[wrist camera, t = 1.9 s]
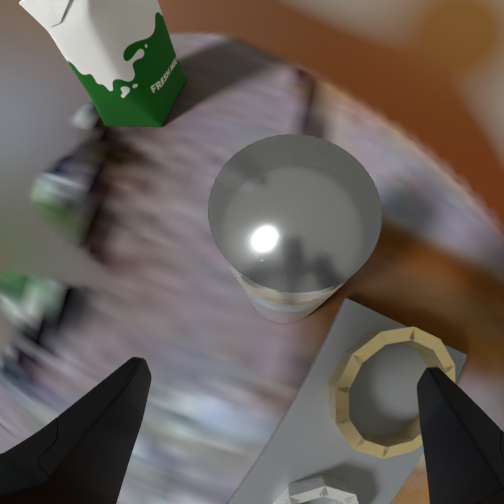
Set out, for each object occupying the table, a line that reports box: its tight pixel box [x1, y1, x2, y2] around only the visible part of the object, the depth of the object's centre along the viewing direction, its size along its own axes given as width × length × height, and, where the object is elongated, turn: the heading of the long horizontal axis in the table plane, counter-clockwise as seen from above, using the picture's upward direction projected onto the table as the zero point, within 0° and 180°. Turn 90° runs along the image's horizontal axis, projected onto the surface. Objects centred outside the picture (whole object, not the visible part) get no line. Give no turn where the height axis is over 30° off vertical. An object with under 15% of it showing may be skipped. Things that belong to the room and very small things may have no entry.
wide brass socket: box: [328, 326, 455, 459], centre depth 16 cm, size 8×8×2 cm
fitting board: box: [226, 298, 467, 504], centre depth 16 cm, size 19×11×1 cm, turn 152°
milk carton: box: [19, 0, 186, 127], centre depth 18 cm, size 9×9×20 cm
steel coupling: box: [208, 134, 382, 324], centre depth 15 cm, size 5×5×13 cm
